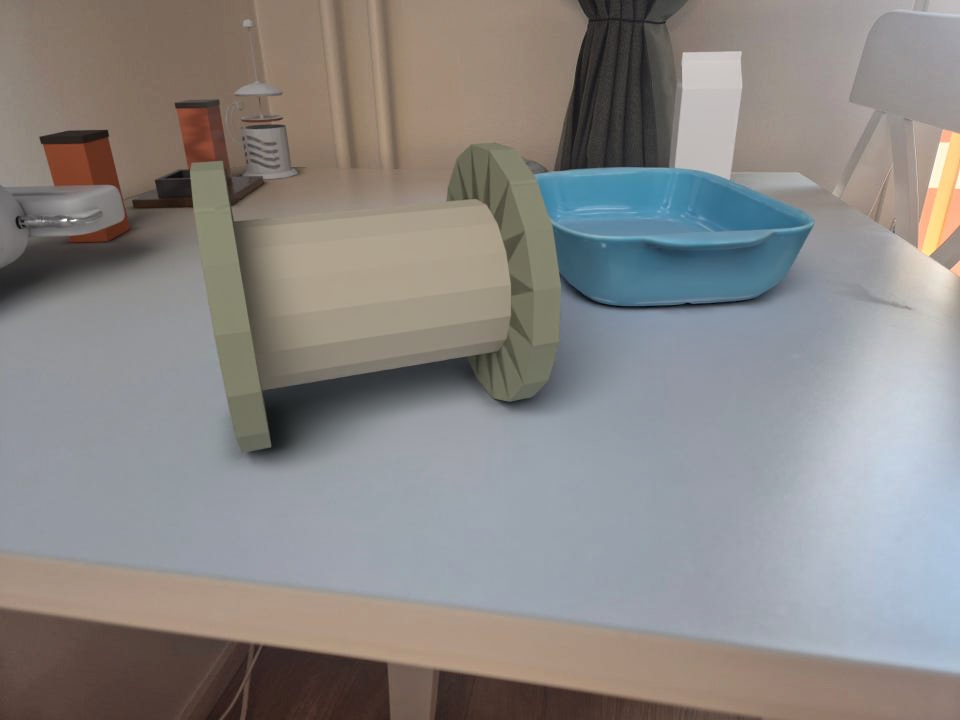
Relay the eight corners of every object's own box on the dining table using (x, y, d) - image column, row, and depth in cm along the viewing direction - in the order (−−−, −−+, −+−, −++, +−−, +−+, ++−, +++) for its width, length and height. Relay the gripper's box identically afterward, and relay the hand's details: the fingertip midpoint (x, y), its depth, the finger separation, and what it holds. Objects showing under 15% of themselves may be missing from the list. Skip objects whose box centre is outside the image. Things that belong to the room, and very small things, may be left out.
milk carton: (726, 210, 89) (747, 51, 81) (670, 209, 90) (685, 52, 82) (717, 199, 95) (736, 51, 87) (665, 199, 96) (679, 52, 88)
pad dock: (133, 208, 97) (110, 109, 92) (180, 185, 114) (162, 99, 108) (231, 205, 97) (214, 106, 92) (263, 183, 114) (251, 97, 108)
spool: (468, 342, 51) (462, 132, 44) (556, 440, 38) (565, 164, 32) (237, 379, 46) (193, 148, 39) (248, 506, 33) (186, 194, 27)
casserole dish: (507, 223, 84) (507, 164, 81) (682, 216, 86) (688, 158, 83) (565, 338, 51) (568, 245, 48) (849, 323, 53) (869, 232, 50)
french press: (281, 179, 116) (258, 17, 106) (221, 178, 119) (193, 19, 108) (307, 170, 125) (289, 19, 115) (251, 169, 128) (228, 21, 117)
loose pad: (68, 242, 80) (38, 136, 75) (94, 230, 86) (68, 130, 81) (108, 241, 80) (81, 135, 75) (131, 229, 86) (107, 129, 81)
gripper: (74, 186, 60) (141, 162, 72) (-162, 191, 59) (-53, 166, 72) (93, 256, 62) (154, 221, 75) (-133, 261, 62) (-33, 225, 74)
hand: (51, 194), depth 73 cm, fingers open, 8 cm apart
